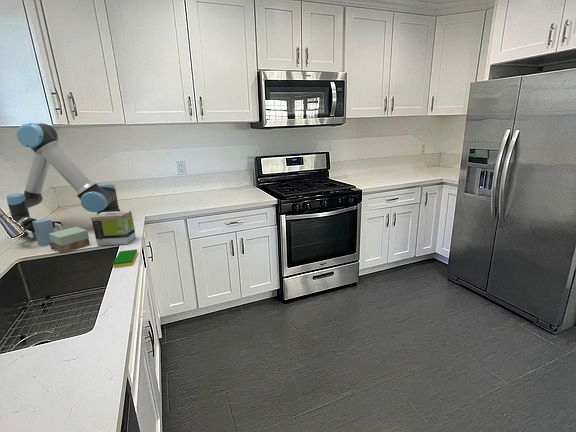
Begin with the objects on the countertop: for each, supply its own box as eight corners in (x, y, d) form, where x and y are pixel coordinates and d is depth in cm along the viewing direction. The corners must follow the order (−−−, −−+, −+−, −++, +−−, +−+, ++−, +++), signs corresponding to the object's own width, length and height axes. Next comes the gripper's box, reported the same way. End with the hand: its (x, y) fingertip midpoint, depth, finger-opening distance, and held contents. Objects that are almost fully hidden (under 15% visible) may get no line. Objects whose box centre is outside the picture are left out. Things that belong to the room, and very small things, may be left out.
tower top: (77, 234, 161) (76, 226, 160) (88, 238, 154) (87, 230, 153) (50, 241, 151) (48, 233, 150) (61, 246, 145) (59, 237, 144)
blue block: (51, 240, 163) (46, 218, 160) (57, 242, 160) (51, 219, 157) (38, 244, 158) (32, 221, 155) (43, 246, 155) (37, 223, 152)
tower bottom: (78, 241, 161) (76, 234, 160) (90, 246, 155) (88, 238, 154) (51, 249, 152) (49, 241, 151) (62, 254, 145) (60, 246, 144)
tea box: (136, 237, 163) (131, 210, 159) (127, 244, 153) (122, 215, 149) (107, 239, 163) (101, 211, 159) (96, 246, 153) (90, 216, 149)
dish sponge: (113, 268, 128) (112, 263, 127) (120, 256, 141) (119, 251, 140) (132, 266, 130) (131, 260, 129) (138, 254, 143) (137, 248, 142)
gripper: (56, 225, 178) (75, 231, 166) (2, 238, 158) (18, 246, 147) (53, 212, 176) (72, 217, 164) (-2, 224, 156) (14, 230, 145)
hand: (47, 231), depth 155 cm, fingers open, 12 cm apart
